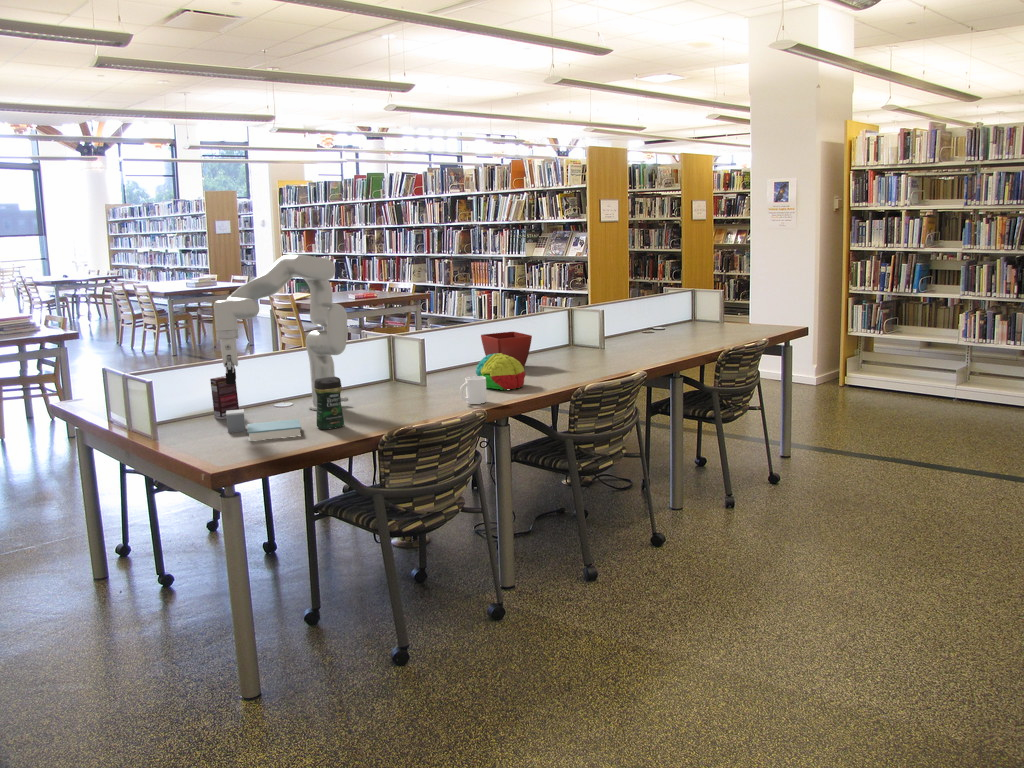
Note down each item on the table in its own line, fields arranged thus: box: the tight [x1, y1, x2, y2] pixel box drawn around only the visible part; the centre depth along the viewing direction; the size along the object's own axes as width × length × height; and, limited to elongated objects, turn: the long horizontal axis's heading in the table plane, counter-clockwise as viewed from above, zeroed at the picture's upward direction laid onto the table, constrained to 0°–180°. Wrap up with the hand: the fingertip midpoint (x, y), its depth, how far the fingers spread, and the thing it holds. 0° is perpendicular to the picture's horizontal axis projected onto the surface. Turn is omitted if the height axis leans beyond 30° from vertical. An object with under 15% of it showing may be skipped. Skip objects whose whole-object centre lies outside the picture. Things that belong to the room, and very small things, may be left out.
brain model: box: [475, 353, 526, 391], centre depth 370 cm, size 24×19×15 cm
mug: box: [459, 375, 488, 405], centre depth 338 cm, size 12×8×10 cm
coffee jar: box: [314, 376, 345, 430], centre depth 306 cm, size 10×8×19 cm
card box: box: [226, 408, 246, 434], centre depth 307 cm, size 6×6×7 cm
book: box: [246, 418, 302, 441], centre depth 299 cm, size 18×13×4 cm
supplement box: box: [209, 375, 240, 420], centre depth 328 cm, size 9×5×16 cm, turn 141°
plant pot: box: [480, 331, 533, 368], centre depth 414 cm, size 19×19×17 cm
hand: (231, 381), depth 304 cm, fingers open, 9 cm apart
